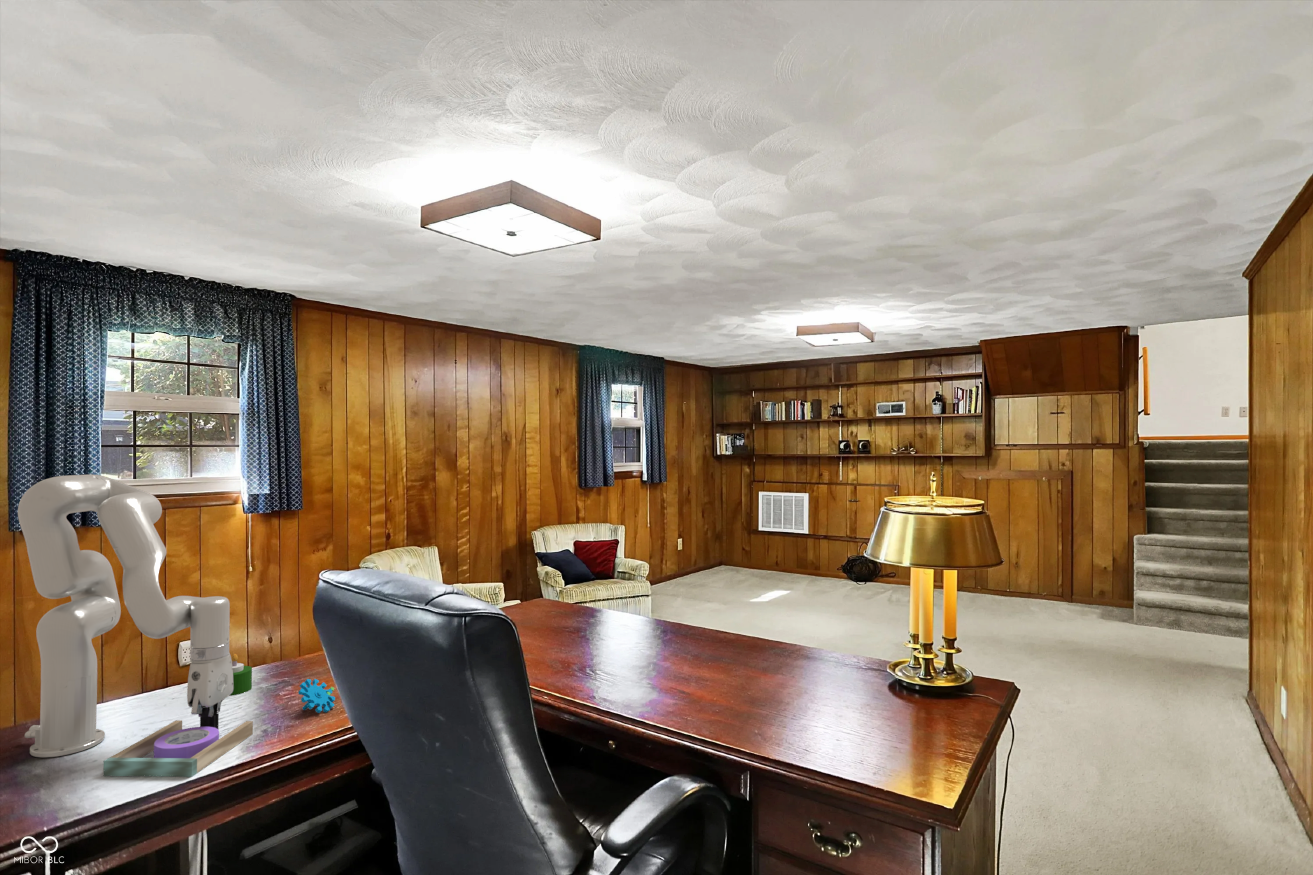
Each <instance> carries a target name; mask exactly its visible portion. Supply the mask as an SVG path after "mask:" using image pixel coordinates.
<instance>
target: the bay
mask: <svg viewBox="0 0 1313 875" xmlns="http://www.w3.org/2000/svg"><path fill="white" fill-rule="evenodd" d="M253 727H254V720H252V721H251V720H246V721H245V722H243V723H241V724H240V725H238V726H237V727H235V728H233V729H232V730H230V731H228V732H227V733H226V734H225V735H224V736H221V737H219V740H217V741H215V742H214V743H212V744H211V745H209V746H208V747H206V748H205V749H203V750H202V751H200V752H199V753H197V754H196V755H194V756H193V757H191V758H154V757H145V756H147V755H148V754H151V753H152V752H154V743H155V741H156V740H157V739H158V738H160V737H162V736H164V735H166V734H168V733H171V732H174V731H178V730H182V729H183V720H182V719H181V720H180V719H179V720H178V719H177V720H174V721H172V722H171V723H169V724H167V725H165V726H164V727H161V728H159V729H158V730H156V731H154V732H152V733H151V734H149V735H147V736H146V737H144V738H142V739H140V740H138V741H136V742H135V743H133V744H131V745H130V746H127V747H126V748H124V749H122V750H120V751H118V752H117V753H115V754H113V755H112V756H110V757H109V758H107V759H105V760H103V770H102V771H103V772H102V773H103V775H102V776H104V777H175V778H176V777H177V778H178V777H179V778H181V777H182V778H191V777H194V776H196V774H199V773H200V772H201V771H202V770H203V768H204V769H205V768H207V767H208V766H209V765H211V764H212V763H214V762H215V761H217V760H219V758H220V757H222V756H224V755H225V754H226V753H228V752H229V751H231V750H232V749H234V748H235V747H236V746H238V745H239V744H241V743H242V742H243V741H245V740H246V739H248V738H249V737H251V736H252V735H253V733H254V729H253ZM211 762H212V763H211ZM210 763H211V764H210ZM200 770H201V771H200Z"/></svg>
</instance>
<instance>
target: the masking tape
mask: <svg viewBox="0 0 1313 875" xmlns="http://www.w3.org/2000/svg"><path fill="white" fill-rule="evenodd" d="M219 739H220V730H219V728H218V729H217V728H214V727H200V726H194V727H187V728H182V730H178V731H174V732H171V733H168V734H166V735H164V736H162V737H160V738H158V739H157V740H156V741H155V743H154V750H153V758H191V757H193V756H194V755H196V754H197V753H199V752H200V751H202V750H203V749H205V748H206V747H208V746H209V745H211V744H212V743H214V742H215V741H217V740H219Z"/></svg>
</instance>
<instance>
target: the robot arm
mask: <svg viewBox="0 0 1313 875" xmlns="http://www.w3.org/2000/svg"><path fill="white" fill-rule="evenodd" d="M17 507H18V508H17V517H18V522H19V525H20V529H21V531H22V534H23V537H24V540H25V545H26V549H27V550H26V551H27V555H28V559H29V561H28V562H29V564H30V569H31V575H32V578H33V583H34V585H35V589H36V591H37V593H38V594H39V595H40V596H41V597H43V598H46V599H51V600H57V599H63V598H64V599H65V598H67V597H70V599H71V601H69V602H66V603H62V604H60V605H58V606H55V607H53V608H52V609H50V610H48V611H47V612H46V613H44V615H43V616H41V618H40V619H39V621H38V623H37V626H36V632H35V633H36V635H35V636H36V641H37V645H38V650H39V656H40V709H39V710H40V712H39V714H40V715H39V717H40V718H39V724H33V725H31V726H30V727H29V729H28V730H27V731H26V732H25V733H24V738H25V739H33V738H34V743H33V744H32V745H31V746H30V747H29V754H30V755H31V756H32V757H36V758H55V757H60V756H61V757H62V756H67V755H72V754H76V753H79V752H82V751H85V750H88V749H90V748H93V747H95V746H97V745H99V744H100V743H101V742H102V741H104V740H105V736H106V735H105V733H106V732H105V731H104V730H103V729H99V728H97V707H98V706H97V702H98V657H97V654H96V650H95V648H94V646H93V642H92V639H95V638H96V637H99V636H101V635H104V634H105V633H107V632H109V631H111V630H112V629H113V628H114V627H116V625H117V624H118V623H119V622H120V618H121V614H122V611H121V610H122V608H121V603H120V597H119V594H118V593H119V592H118V588H117V584H116V583H117V582H116V579H115V574H114V571H113V567H112V565H111V563H110V561H109V560H108V558H107V557H106V556H105V555H103V553H101V552H98V551H96V550H93V549H83V550H82V549H80V545H79V541H78V535H77V532H76V530H75V529H74V527H73V525H72V524H71V522H70V521H69V520H68V519H67V516H68V515H69V514H74V513H82V512H83V513H84V512H95V513H96V515H97V516H96V517H97V520H98V522H99V524H100V526H101V528H102V530H103V531H104V533H105V536H106V537H107V540H108V541H109V543H110V545H111V547H112V549H113V550H114V553H115V554H116V557H117V558H118V561H119V562H120V565H121V567H122V572H123V574H122V597H123V602H124V606H125V607H126V609H127V611H128V613H129V615H130V617H131V618H132V620H133V622H134V625H135V626H136V628H137V629H138V630H139V631H140V633H142V634H143V635H144V636H146V637H148V638H151V639H158V640H159V639H164V638H166V637H169V636H171V635H173V634H175V633H177V632H179V631H181V630H184V629H187V628H190V638H189V639H190V640H189V641H190V649H189V651H190V654H189V655H190V656H189V658H190V659H189V660H190V661H189V662H190V665H189V670H188V677H187V692H186V700H187V701H186V703H187V706H188V707H189V708H191V710H190V711H191V712H190V714H191V715H197V716H198V718H199V727H214V728H217V729H218V730H219V722H220V720H219V716H220V715H219V713H220V712H221V704H222V702H223V701H224V700H225V699H226V698H227V697H230V696H229V695H230V694H231V693H232V692H233V667H232V656H231V653H230V626H231V625H230V623H231V622H230V620H231V619H230V613H231V612H230V611H231V610H230V609H231V608H230V606H231V605H230V604H231V603H230V599H228V597H226V596H218V595H217V596H214V595H213V596H207V597H200V596H193V595H192V596H191V595H178V596H174V597H171V598H168V599H166V598H165V596H164V594H163V591H162V589H161V586H160V583H159V582H160V581H159V573H160V568H161V566H162V565H163V562H164V560H165V558H166V555H167V548H166V546H165V544H164V542H163V540H162V539H161V537H160V535H159V533H158V531H157V529H156V527H155V525H154V524H155V523H156V522H158V521H159V519H160V518H161V517H162V513H163V508H162V504H161V502H160V501H159V499H158V498H157V497H156V496H155V495H154V494H151V493H150V492H148V491H145V490H143V489H140V488H137V487H135V486H133V485H128V484H127V483H123V482H122V481H119V480H116V479H113V478H110V477H108V476H104V475H100V474H73V475H72V474H71V475H60V476H53V477H49V478H46V479H43V480H41V481H38V482H37V483H35V484H33V485H32V486H30V488H28V489H27V490H26V491H25V492H24V494H22V496H21V498H20V501H19V503H18V506H17Z"/></svg>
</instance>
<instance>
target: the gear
mask: <svg viewBox="0 0 1313 875" xmlns="http://www.w3.org/2000/svg"><path fill="white" fill-rule="evenodd" d="M319 682H320V681H319V679H317V678H314V679H313V680H312V679H310V678H307V679H305V680H304V681H303V682H302V683H301V684H300V685H299V688H300V689H299V690H298V695H300V696H302V697H301V699H300V700H301V702H302V703H303V704H304V703H305V705H303V706H302V711H306V710H307V709H309V710H312V709H313V708H314V707H315V706H317V707H316V708H315V712H316V713H317V714H320V713H321V712H323V713H329V712H330V711H331V709H333V708H334V706H335V704H334V702H335V700H336V697H335V696H333V695H332V694H333V691H334V690H335V687H333V686H330V688H329V689H325V688H326V687H327V683H326V682H321V684H320V685H318V684H319ZM311 683H312V684H311Z"/></svg>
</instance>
